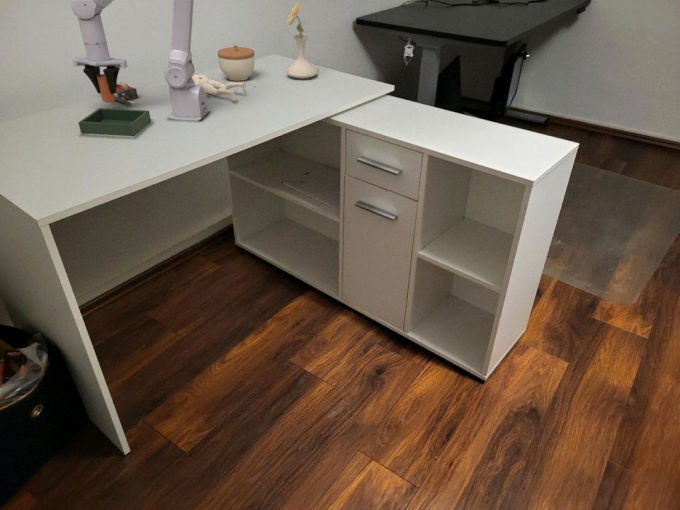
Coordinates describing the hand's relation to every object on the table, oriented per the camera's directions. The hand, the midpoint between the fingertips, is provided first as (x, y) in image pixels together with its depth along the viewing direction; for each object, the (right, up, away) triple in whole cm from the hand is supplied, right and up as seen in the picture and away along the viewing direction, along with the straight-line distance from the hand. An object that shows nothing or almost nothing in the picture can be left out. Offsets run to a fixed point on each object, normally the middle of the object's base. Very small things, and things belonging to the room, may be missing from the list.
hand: (107, 92), depth 149 cm
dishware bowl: (+31, +17, +36) cm, 50 cm away
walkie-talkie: (-2, +3, +16) cm, 16 cm away
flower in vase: (+53, +18, +39) cm, 68 cm away
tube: (0, -2, +1) cm, 2 cm away
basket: (+5, -12, -5) cm, 14 cm away
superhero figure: (+24, +6, +22) cm, 33 cm away
